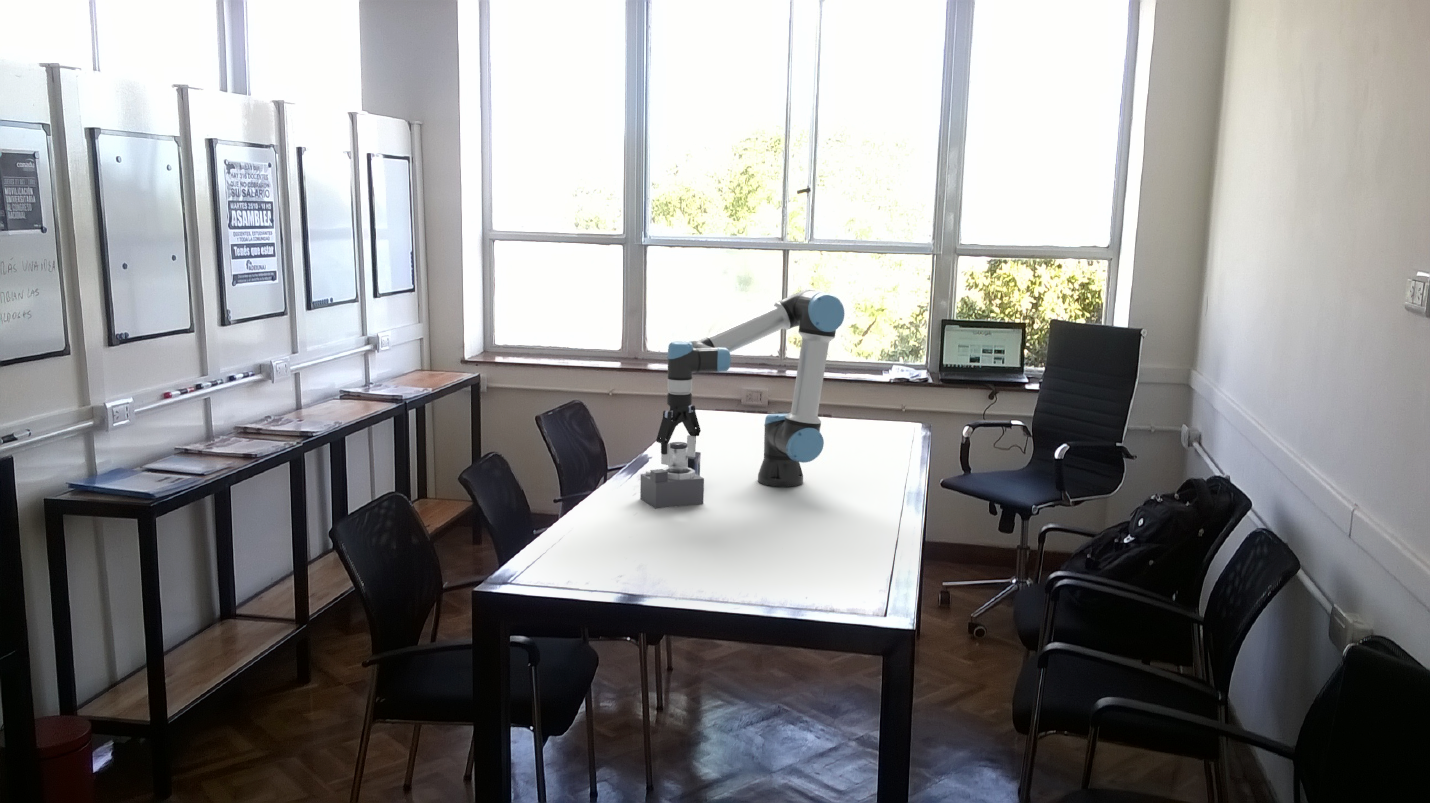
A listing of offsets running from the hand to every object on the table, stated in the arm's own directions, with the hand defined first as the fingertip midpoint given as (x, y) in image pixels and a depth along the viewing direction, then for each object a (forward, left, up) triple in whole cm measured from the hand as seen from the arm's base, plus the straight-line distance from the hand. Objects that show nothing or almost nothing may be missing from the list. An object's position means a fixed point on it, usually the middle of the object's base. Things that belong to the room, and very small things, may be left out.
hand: (678, 460), depth 339 cm
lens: (0, 0, -5) cm, 5 cm away
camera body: (+2, 0, -13) cm, 13 cm away
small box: (-11, -16, -13) cm, 23 cm away
